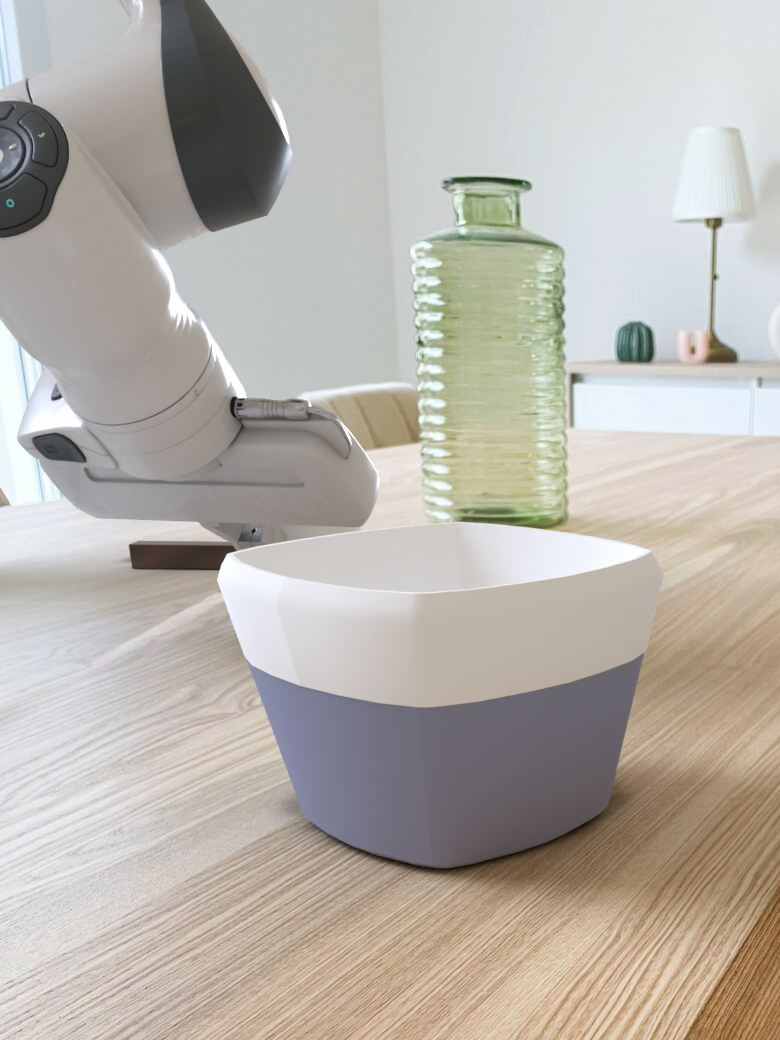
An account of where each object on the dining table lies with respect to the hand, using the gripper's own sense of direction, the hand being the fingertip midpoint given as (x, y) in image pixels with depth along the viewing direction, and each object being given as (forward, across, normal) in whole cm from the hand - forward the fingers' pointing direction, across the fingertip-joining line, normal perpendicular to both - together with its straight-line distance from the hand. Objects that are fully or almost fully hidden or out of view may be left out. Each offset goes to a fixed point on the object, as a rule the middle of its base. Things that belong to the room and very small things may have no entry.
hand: (265, 547), depth 87 cm
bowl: (-18, -25, +26) cm, 41 cm away
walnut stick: (+18, +17, -10) cm, 27 cm away
